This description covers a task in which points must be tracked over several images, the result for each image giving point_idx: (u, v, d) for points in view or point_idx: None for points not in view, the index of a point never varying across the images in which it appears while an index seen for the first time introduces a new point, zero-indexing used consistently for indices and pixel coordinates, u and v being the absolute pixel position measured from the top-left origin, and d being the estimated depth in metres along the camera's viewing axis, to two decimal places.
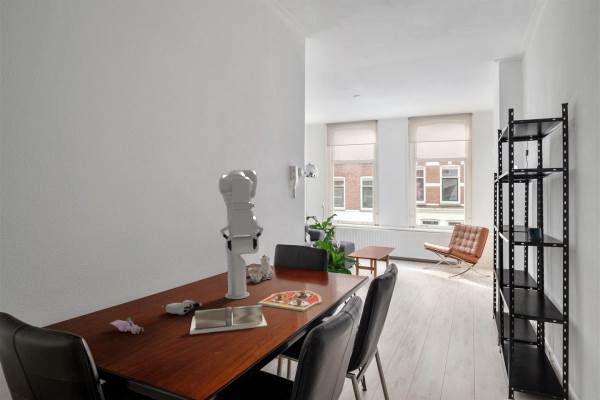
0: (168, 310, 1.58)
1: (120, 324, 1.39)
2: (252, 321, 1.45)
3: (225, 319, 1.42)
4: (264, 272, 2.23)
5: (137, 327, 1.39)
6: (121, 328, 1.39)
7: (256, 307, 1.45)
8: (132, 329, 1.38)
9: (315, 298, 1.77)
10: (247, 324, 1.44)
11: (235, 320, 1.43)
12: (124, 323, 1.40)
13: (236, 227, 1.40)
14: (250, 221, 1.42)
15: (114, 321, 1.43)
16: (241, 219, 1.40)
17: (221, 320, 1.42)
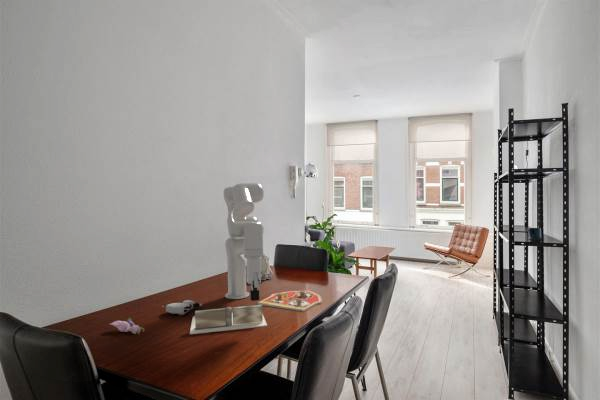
0: (168, 310, 1.58)
1: (120, 324, 1.39)
2: (252, 321, 1.45)
3: (225, 319, 1.42)
4: (263, 272, 2.22)
5: (138, 327, 1.39)
6: (121, 328, 1.38)
7: (256, 307, 1.45)
8: (133, 329, 1.37)
9: (315, 298, 1.77)
10: (247, 324, 1.44)
11: (235, 320, 1.43)
12: (124, 323, 1.39)
13: None
14: None
15: (114, 322, 1.43)
16: None
17: (221, 320, 1.42)
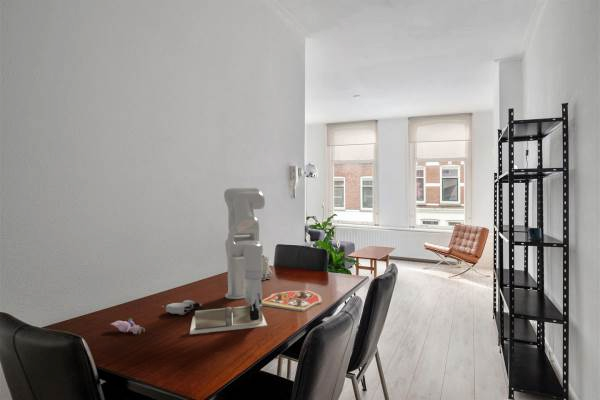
0: (168, 310, 1.58)
1: (121, 324, 1.39)
2: (252, 321, 1.45)
3: (225, 319, 1.42)
4: (263, 272, 2.22)
5: (138, 327, 1.39)
6: (122, 328, 1.38)
7: None
8: (133, 329, 1.37)
9: (315, 298, 1.77)
10: (247, 324, 1.44)
11: (235, 320, 1.43)
12: (125, 323, 1.39)
13: None
14: None
15: (114, 322, 1.42)
16: None
17: (221, 320, 1.42)
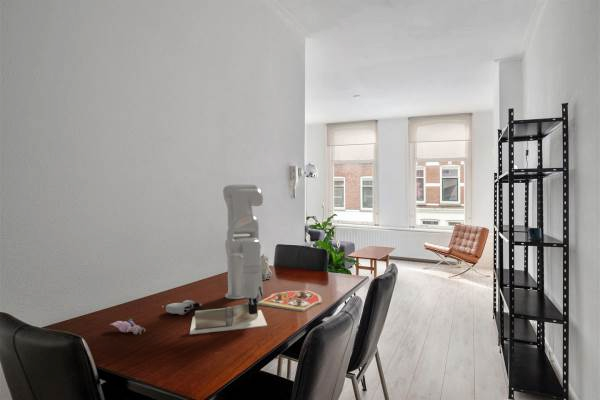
0: (168, 310, 1.58)
1: (121, 325, 1.39)
2: (249, 318, 1.49)
3: (225, 319, 1.42)
4: (263, 272, 2.22)
5: (139, 327, 1.39)
6: (122, 329, 1.38)
7: None
8: (134, 329, 1.37)
9: (315, 298, 1.77)
10: (247, 324, 1.44)
11: (235, 319, 1.44)
12: (125, 324, 1.39)
13: None
14: None
15: (114, 322, 1.42)
16: None
17: (221, 320, 1.42)
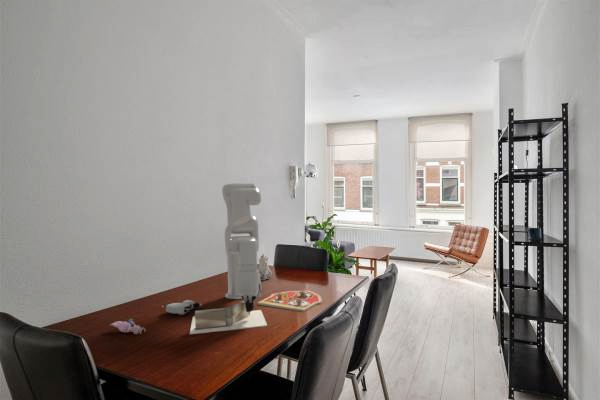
0: (168, 310, 1.58)
1: (121, 325, 1.38)
2: (244, 316, 1.51)
3: (225, 319, 1.42)
4: (262, 272, 2.22)
5: (139, 327, 1.39)
6: (123, 329, 1.38)
7: None
8: (134, 330, 1.37)
9: (315, 298, 1.77)
10: (247, 324, 1.44)
11: (234, 318, 1.45)
12: (125, 324, 1.39)
13: None
14: None
15: (114, 322, 1.42)
16: None
17: (221, 320, 1.42)
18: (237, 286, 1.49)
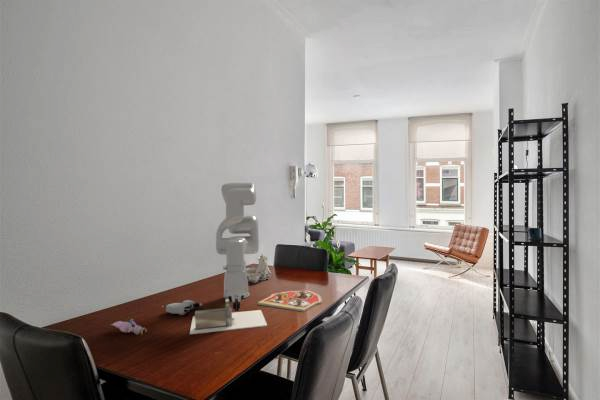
0: (168, 310, 1.58)
1: (122, 325, 1.38)
2: None
3: (225, 319, 1.42)
4: (262, 272, 2.22)
5: (140, 328, 1.39)
6: (123, 329, 1.37)
7: (228, 301, 1.54)
8: (135, 330, 1.37)
9: (315, 298, 1.77)
10: (247, 324, 1.44)
11: None
12: (126, 324, 1.39)
13: None
14: None
15: None
16: None
17: (221, 320, 1.42)
18: (226, 287, 1.50)
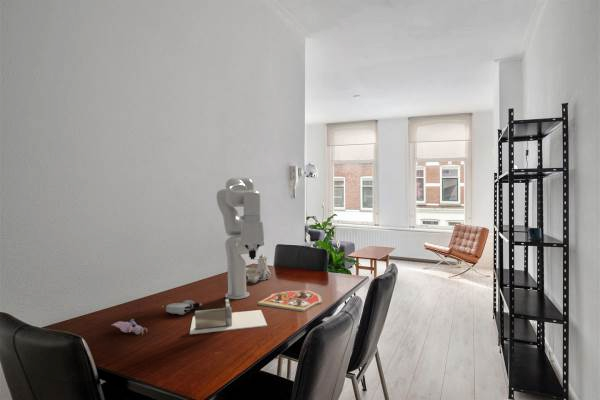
0: (168, 310, 1.58)
1: (123, 325, 1.38)
2: None
3: (225, 319, 1.42)
4: (261, 272, 2.22)
5: (141, 328, 1.39)
6: (124, 329, 1.37)
7: (228, 301, 1.54)
8: (136, 330, 1.37)
9: (315, 298, 1.77)
10: (247, 324, 1.44)
11: None
12: (127, 324, 1.39)
13: None
14: None
15: None
16: None
17: (221, 320, 1.42)
18: (243, 236, 1.56)
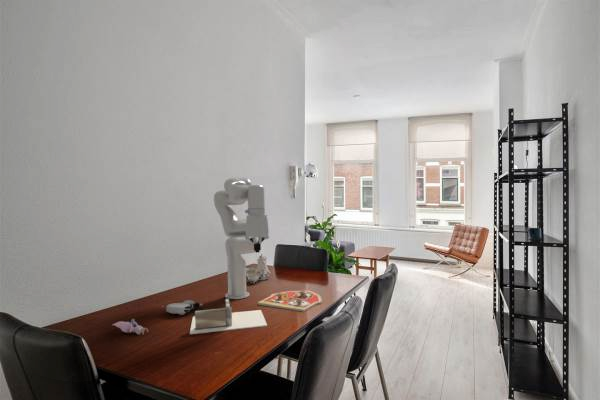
0: (168, 310, 1.58)
1: (124, 325, 1.38)
2: None
3: (225, 319, 1.42)
4: (261, 272, 2.22)
5: (141, 328, 1.38)
6: (125, 329, 1.37)
7: (228, 301, 1.54)
8: (137, 330, 1.37)
9: (315, 298, 1.77)
10: (247, 324, 1.44)
11: None
12: (128, 324, 1.39)
13: None
14: None
15: None
16: None
17: (221, 320, 1.42)
18: (248, 229, 1.58)
